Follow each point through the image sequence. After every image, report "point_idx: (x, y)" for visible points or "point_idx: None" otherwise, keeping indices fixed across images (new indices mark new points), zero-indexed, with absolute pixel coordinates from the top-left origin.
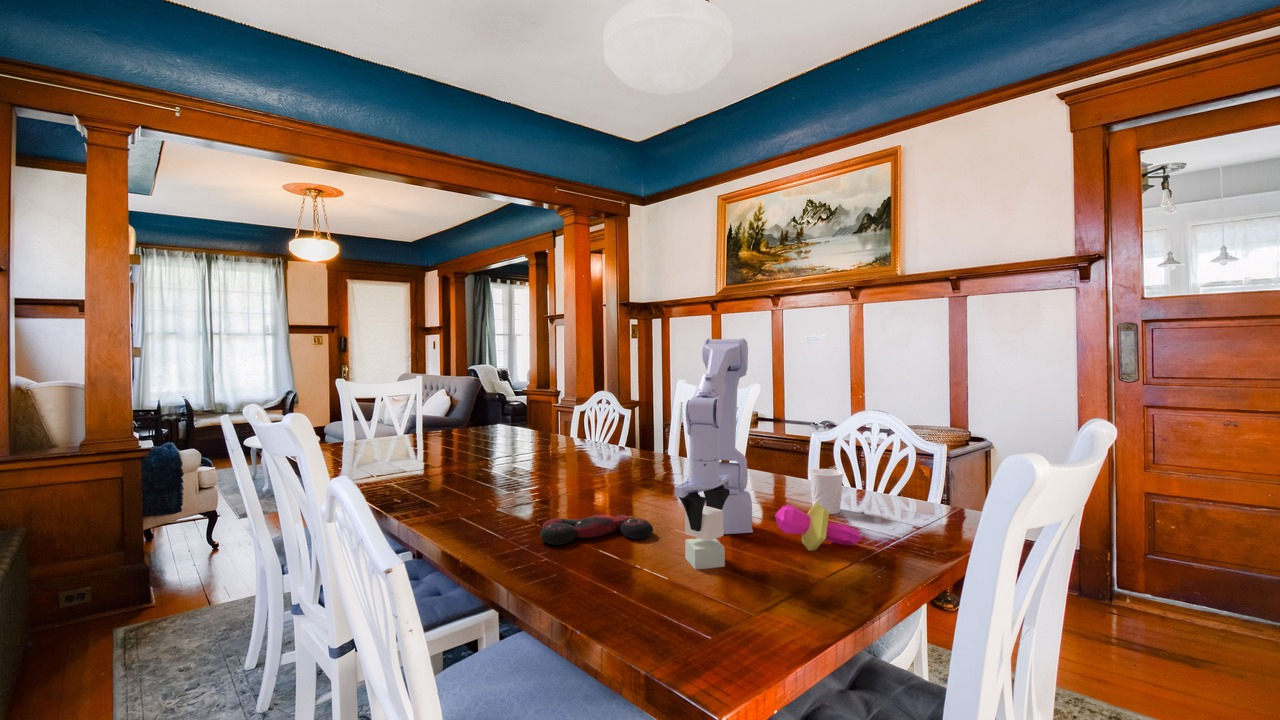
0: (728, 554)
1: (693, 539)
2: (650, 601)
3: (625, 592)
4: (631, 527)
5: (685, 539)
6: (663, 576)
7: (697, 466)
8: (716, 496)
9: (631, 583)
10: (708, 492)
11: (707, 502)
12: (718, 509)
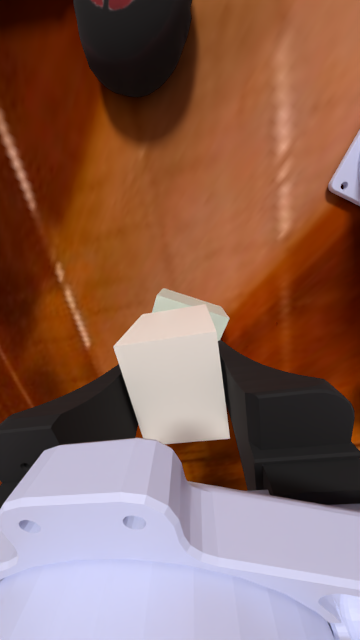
0: (249, 317)
1: (174, 306)
2: (37, 391)
3: (11, 353)
4: (86, 20)
5: (157, 294)
6: (86, 336)
7: None
8: (245, 462)
9: (27, 332)
10: (243, 429)
11: (228, 376)
12: (224, 422)
